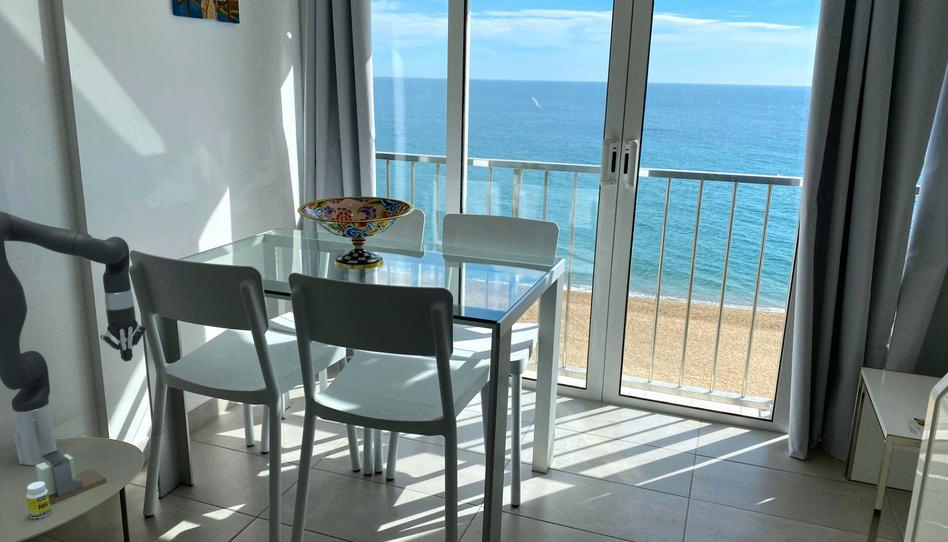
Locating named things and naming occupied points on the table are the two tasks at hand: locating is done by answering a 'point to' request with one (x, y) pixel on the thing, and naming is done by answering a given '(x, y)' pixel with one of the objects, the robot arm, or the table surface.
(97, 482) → the base
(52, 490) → the mint green block
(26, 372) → the robot arm
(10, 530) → the table surface
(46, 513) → the supplement bottle
